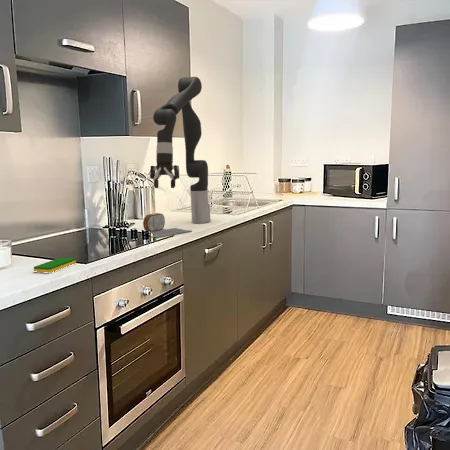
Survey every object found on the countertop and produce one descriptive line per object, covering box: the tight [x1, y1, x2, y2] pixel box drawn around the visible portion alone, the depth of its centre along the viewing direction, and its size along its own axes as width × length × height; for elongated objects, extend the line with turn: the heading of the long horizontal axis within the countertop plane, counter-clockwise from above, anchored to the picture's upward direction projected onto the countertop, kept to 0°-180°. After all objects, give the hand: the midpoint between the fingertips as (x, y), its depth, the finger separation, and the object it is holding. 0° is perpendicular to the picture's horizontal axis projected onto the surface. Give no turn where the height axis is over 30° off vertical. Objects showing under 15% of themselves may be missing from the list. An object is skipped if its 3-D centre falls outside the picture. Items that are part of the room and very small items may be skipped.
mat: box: [149, 227, 192, 239], centre depth 224 cm, size 20×14×1 cm
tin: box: [142, 212, 166, 232], centre depth 230 cm, size 15×3×8 cm, turn 152°
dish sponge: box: [33, 257, 77, 272], centre depth 163 cm, size 7×14×2 cm, turn 161°
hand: (164, 188), depth 218 cm, fingers open, 8 cm apart
